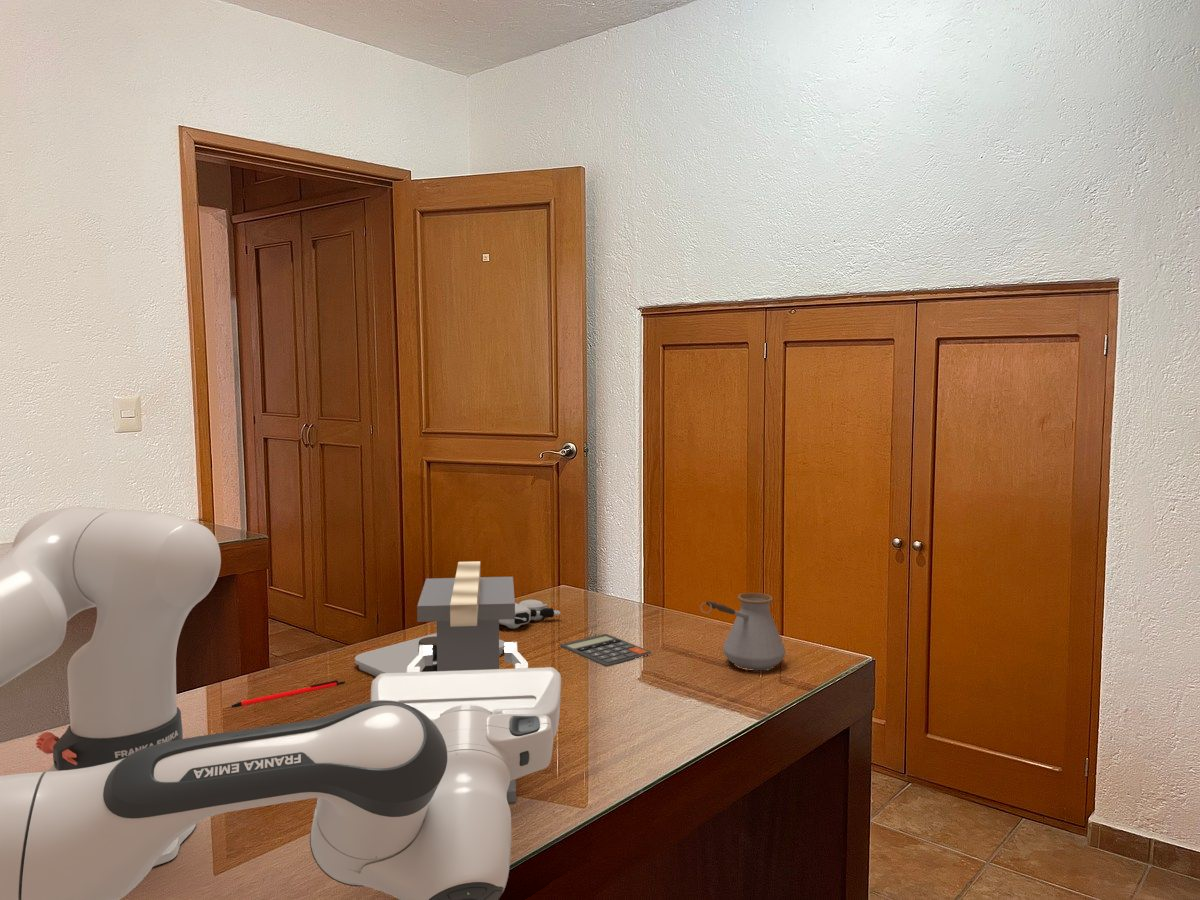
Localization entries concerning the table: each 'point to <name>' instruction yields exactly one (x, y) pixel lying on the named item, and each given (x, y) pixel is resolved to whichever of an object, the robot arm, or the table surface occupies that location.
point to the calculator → (605, 649)
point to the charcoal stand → (469, 628)
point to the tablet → (394, 657)
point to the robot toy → (528, 613)
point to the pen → (289, 693)
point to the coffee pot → (752, 633)
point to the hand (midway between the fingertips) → (468, 646)
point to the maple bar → (465, 595)
